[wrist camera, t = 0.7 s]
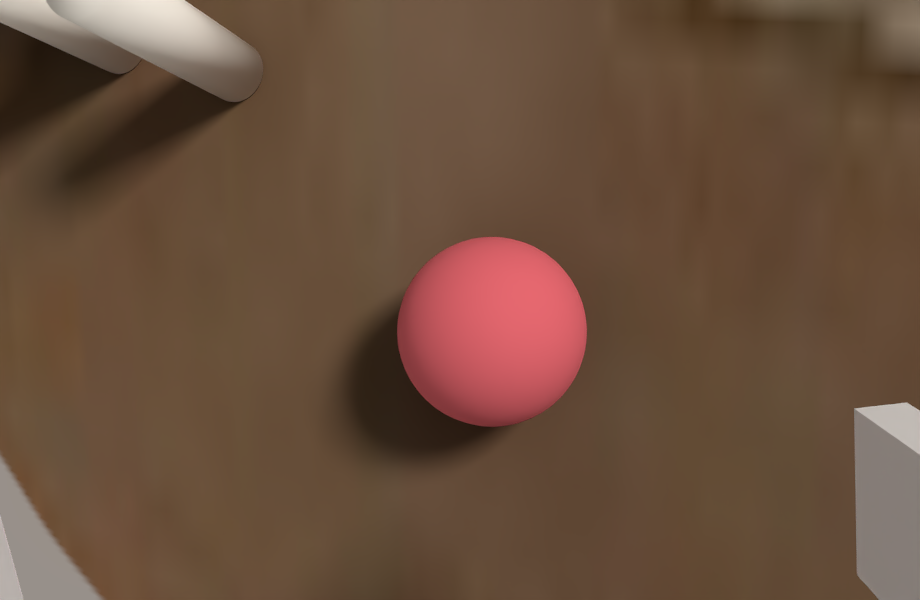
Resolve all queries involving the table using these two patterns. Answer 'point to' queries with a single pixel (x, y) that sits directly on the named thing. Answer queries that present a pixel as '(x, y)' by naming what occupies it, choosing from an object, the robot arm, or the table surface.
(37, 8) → the pin
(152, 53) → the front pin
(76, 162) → the table surface
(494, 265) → the ball
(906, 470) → the robot arm
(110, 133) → the table surface
